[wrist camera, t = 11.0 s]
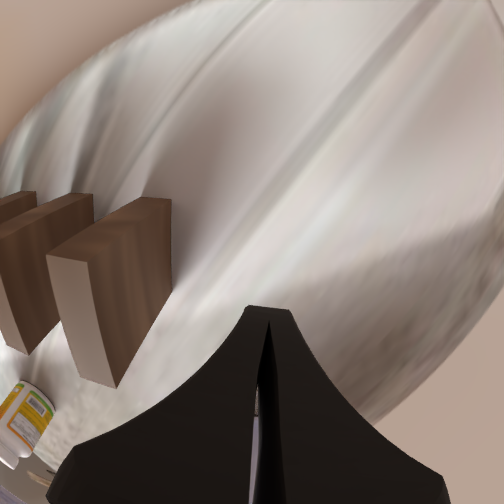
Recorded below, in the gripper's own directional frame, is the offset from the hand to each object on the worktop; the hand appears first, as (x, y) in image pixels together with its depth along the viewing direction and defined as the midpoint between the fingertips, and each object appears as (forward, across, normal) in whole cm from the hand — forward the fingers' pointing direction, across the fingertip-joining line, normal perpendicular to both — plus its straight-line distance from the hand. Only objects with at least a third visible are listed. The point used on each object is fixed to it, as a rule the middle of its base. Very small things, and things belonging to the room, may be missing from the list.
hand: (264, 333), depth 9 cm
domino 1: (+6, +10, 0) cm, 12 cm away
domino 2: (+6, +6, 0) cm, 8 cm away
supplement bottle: (+6, +23, +20) cm, 31 cm away
